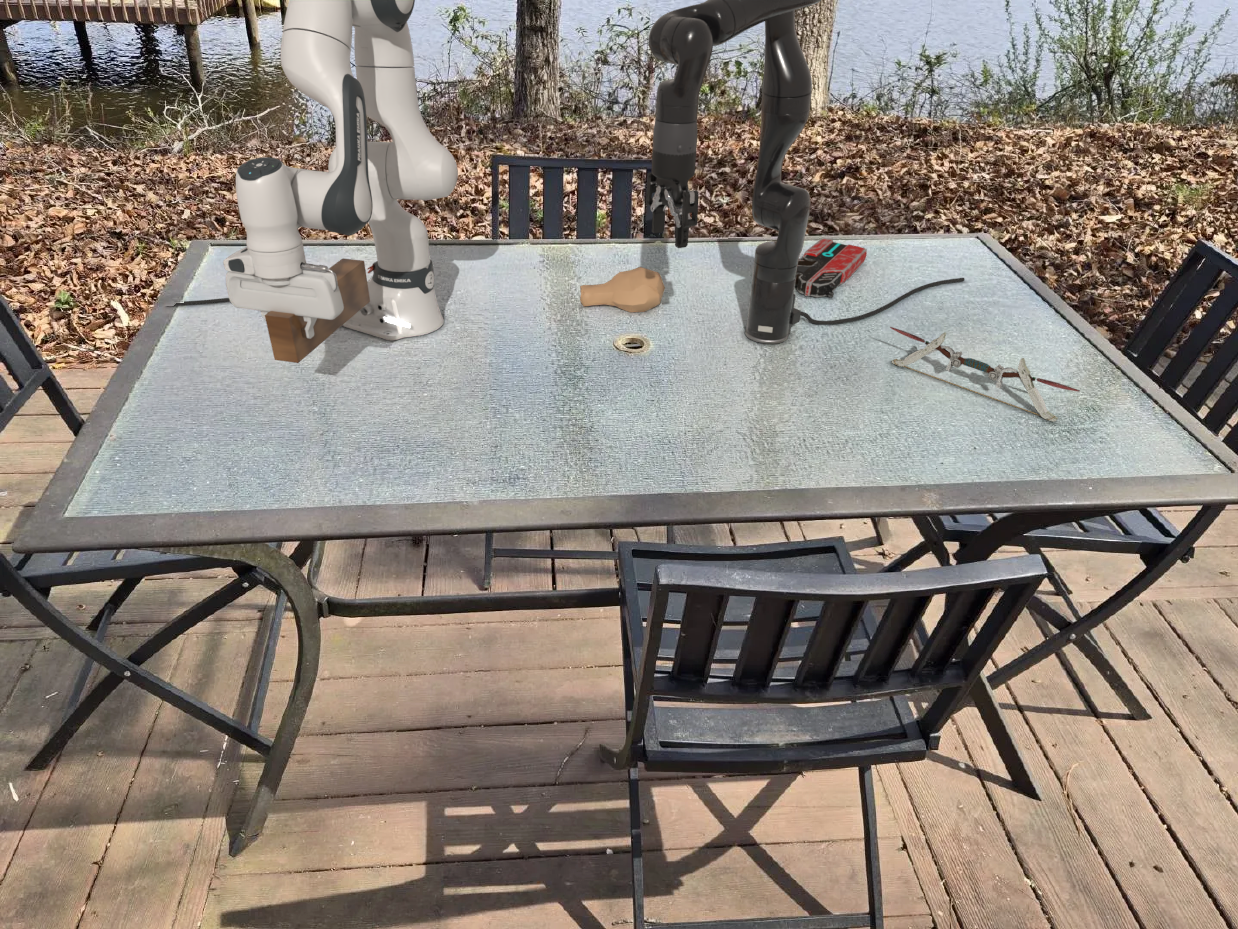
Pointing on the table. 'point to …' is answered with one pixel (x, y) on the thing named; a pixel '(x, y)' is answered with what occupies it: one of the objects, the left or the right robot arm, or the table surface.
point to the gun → (827, 267)
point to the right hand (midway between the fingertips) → (669, 239)
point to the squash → (626, 291)
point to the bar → (289, 326)
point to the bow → (994, 374)
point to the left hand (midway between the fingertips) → (292, 334)
